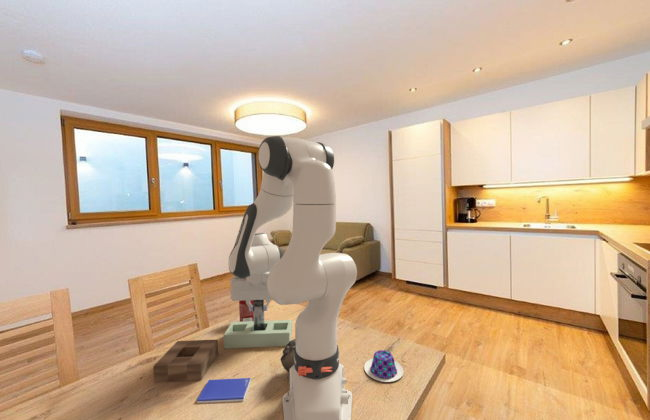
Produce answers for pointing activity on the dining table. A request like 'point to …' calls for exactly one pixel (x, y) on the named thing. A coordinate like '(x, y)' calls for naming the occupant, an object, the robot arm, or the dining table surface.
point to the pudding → (383, 367)
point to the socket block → (186, 361)
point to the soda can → (245, 311)
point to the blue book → (224, 390)
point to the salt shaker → (258, 315)
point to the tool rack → (258, 334)
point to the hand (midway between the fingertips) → (258, 310)
